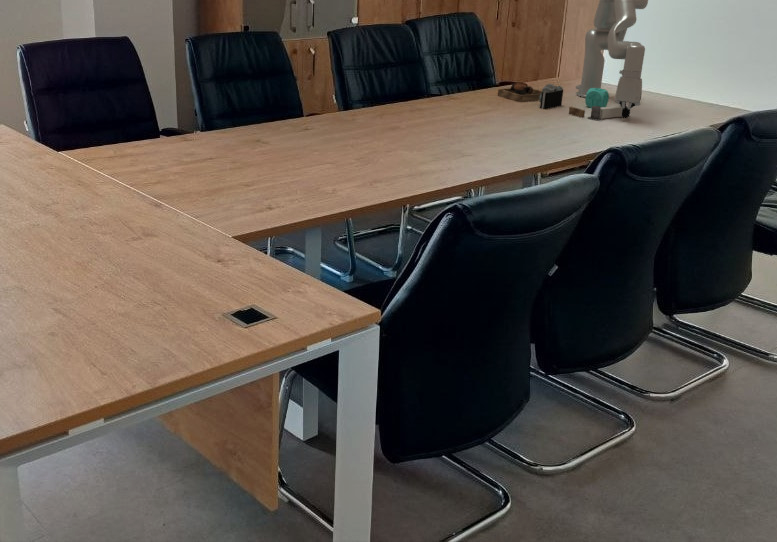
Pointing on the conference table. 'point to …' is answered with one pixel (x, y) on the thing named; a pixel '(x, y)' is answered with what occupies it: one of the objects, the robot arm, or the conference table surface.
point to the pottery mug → (521, 88)
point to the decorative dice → (597, 97)
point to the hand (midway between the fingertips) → (625, 117)
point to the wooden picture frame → (520, 98)
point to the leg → (611, 112)
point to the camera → (551, 96)
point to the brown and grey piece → (579, 112)
